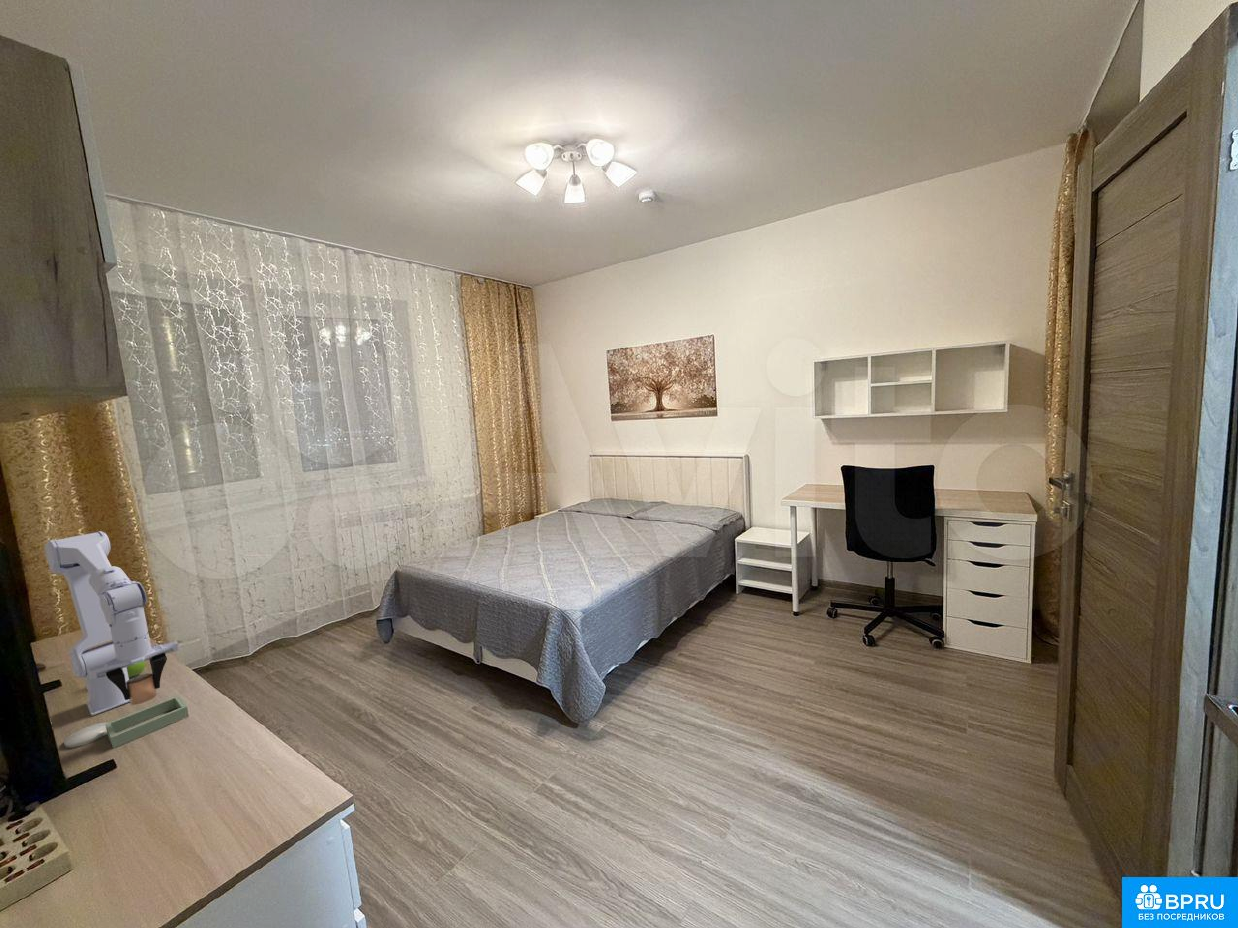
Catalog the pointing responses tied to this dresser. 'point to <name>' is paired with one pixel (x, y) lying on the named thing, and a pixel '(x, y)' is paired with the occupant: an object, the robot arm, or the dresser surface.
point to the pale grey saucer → (86, 735)
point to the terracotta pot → (141, 688)
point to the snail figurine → (135, 669)
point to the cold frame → (149, 725)
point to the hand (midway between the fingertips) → (142, 692)
